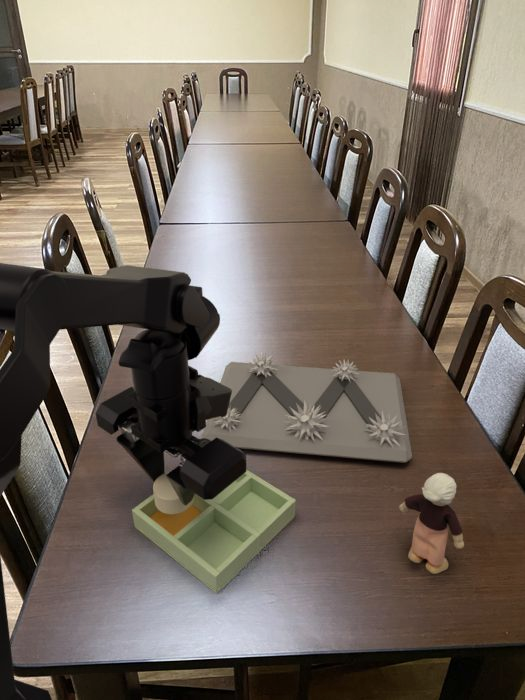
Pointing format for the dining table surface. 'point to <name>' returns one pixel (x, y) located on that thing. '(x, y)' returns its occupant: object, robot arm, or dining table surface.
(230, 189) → the dining table surface
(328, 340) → the dining table surface
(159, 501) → the cylinder
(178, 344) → the robot arm
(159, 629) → the dining table surface
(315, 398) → the decorative plate
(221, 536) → the grid
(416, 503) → the grandmother figurine
